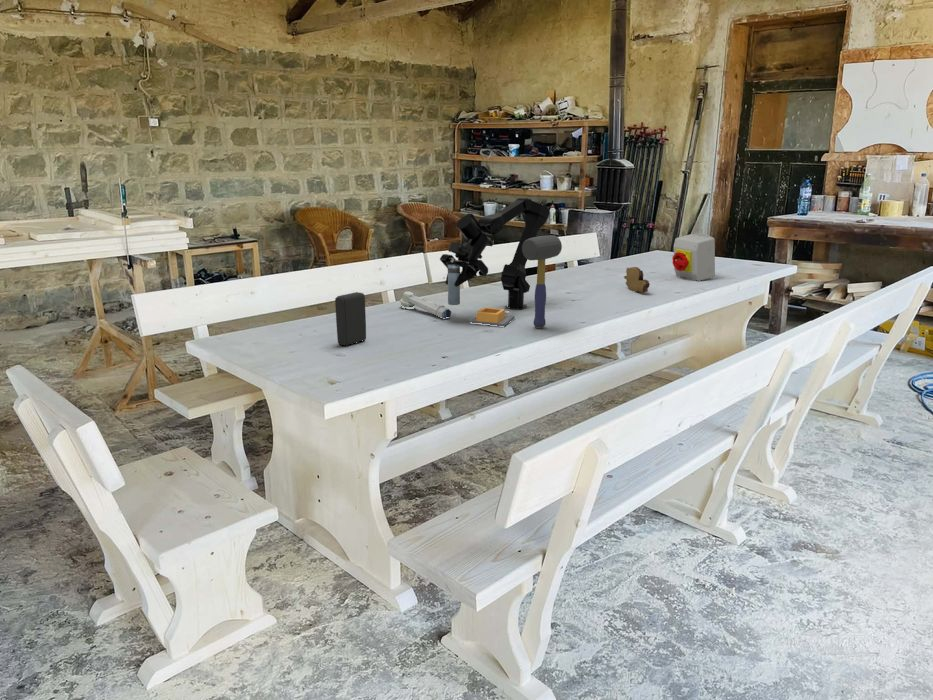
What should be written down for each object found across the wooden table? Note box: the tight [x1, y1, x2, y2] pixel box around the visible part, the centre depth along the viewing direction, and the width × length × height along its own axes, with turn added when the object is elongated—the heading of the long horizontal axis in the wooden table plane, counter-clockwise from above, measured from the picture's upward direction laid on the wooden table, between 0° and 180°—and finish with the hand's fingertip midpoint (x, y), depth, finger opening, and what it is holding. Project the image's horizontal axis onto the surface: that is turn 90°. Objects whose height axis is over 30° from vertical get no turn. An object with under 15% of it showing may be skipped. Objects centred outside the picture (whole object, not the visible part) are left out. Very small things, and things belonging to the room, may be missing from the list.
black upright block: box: [334, 291, 367, 346], centre depth 208 cm, size 9×4×15 cm, turn 141°
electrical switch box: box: [671, 232, 716, 282], centre depth 306 cm, size 15×15×20 cm
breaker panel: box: [469, 307, 516, 327], centre depth 234 cm, size 12×12×4 cm
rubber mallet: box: [522, 234, 563, 329], centre depth 223 cm, size 12×8×30 cm, turn 133°
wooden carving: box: [623, 266, 651, 294], centre depth 281 cm, size 16×5×10 cm, turn 22°
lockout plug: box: [447, 264, 461, 306], centre depth 231 cm, size 4×4×13 cm
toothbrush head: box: [399, 291, 452, 318], centre depth 246 cm, size 5×7×25 cm
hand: (450, 284), depth 230 cm, fingers closed on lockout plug, 4 cm apart
